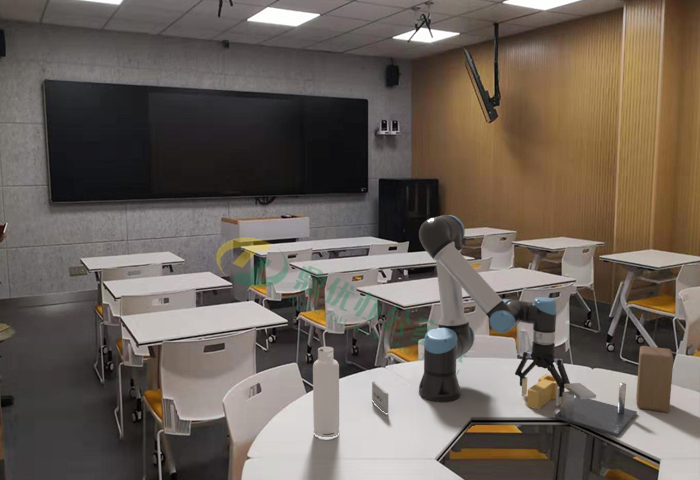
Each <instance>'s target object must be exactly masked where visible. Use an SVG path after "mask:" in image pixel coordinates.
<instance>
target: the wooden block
mask: <svg viewBox="0 0 700 480" xmlns="http://www.w3.org/2000/svg"><path fill="white" fill-rule="evenodd" d="M638 355H639V356H638V369H637V381H636V382H637V383H636V394H635V395H636V406H637V408H639V409H645V410H650V411H655V412H656V411H657V412H662V413H668V412H669V411H670V407H671V405H670V404H671V392H672V383H673V382H672V380H673V370H674V369H673V367H674V356H673V351H672V350H671V348H666V347H663V348H662V347H656V346H648V345H641V346H640V347H639V354H638Z"/></svg>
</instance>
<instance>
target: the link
mask: <svg viewBox="0 0 700 480" xmlns="http://www.w3.org/2000/svg"><path fill="white" fill-rule="evenodd" d="M561 379H562V378H561ZM557 387H559V386H558V384H557V383H556V381H555V380H554V378H553V376H552V375H551V374H547V373H545V374H543V375H542V376H541V377H539V378H538V382H536V383H535V384H534V385H531V386H530V387H529V388H527V394H526V396H527V399H526V401H527V402H526V407H529V408H532V409H537V410H539V409H540V408H542V407H543V406H544V405H545V404H547V403H548V402H550V400H551V399H552V400H556V395H557Z"/></svg>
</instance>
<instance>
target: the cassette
mask: <svg viewBox="0 0 700 480" xmlns="http://www.w3.org/2000/svg"><path fill="white" fill-rule="evenodd" d="M371 385H372V387H371V399H372V400H373V401H374V403H375V404H376V405H377V406H378V407H379V408H380V409H381V410H382V411H384V412H385V413H388V414H389V392H387V391H386V390H385V389H384V388H382V387H381V386H380V385H379V384H378V383H377V382H376V381H372V382H371ZM372 400H371V401H372Z"/></svg>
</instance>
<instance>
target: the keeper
mask: <svg viewBox="0 0 700 480" xmlns="http://www.w3.org/2000/svg"><path fill="white" fill-rule="evenodd" d="M564 387H565V389H566V390H567V391H564V392H563V394H562V397H561V409H562V413H561V415H563V416H564V417H565V418H573V410H574V398H575V397H578V398H579V399H592V400H593V399H597V394H596V393H594V392H593V391H592V390H590V389H589V388H587V387H586V386H585V385H583V384H582V383H580V382H573V383H572V382H570V384H564Z"/></svg>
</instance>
